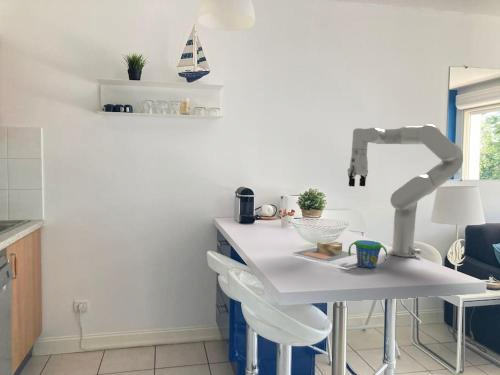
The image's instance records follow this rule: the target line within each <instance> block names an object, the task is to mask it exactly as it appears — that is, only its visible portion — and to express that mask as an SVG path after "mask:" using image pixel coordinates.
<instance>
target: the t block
mask: <svg viewBox="0 0 500 375" xmlns="http://www.w3.org/2000/svg"><path fill="white" fill-rule="evenodd" d="M316 248H317V251H319V252H324V253H329V254H333V255H340V254H341V252H342V251H343V242H339V241H332V242H331V241H330V242H325V241H319V242H317V243H316Z"/></svg>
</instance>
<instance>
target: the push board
mask: <svg viewBox="0 0 500 375" xmlns="http://www.w3.org/2000/svg"><path fill="white" fill-rule="evenodd" d="M295 254H296V256H298V257H299V256H300V255H301V256H300V257H302V258H303V257H309V258H312V259H313V258H314V259H316V260H317V261H321V260H323V261H321V262H324V261H326V262H332V261H336V260H340V259H344V258H347V257H351V256H355V255H356V256H357V253H354V252H350V254H351V256H349V253H348V251H344V250H342V252H341V254H340V255H333V254H329V253H324V252H319V251H317V247H314V248H310V249H305V250H304V249H303V250H300V251H295V252H293V254H292V255H293V256H294V255H295Z"/></svg>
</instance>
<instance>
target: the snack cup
mask: <svg viewBox="0 0 500 375" xmlns="http://www.w3.org/2000/svg"><path fill="white" fill-rule="evenodd" d="M353 245H355V249H356V261H357V265H358V266H359V267H360V268H367V269H374V268H377V264H378V260H379V256H380V252H381V250H382V249H381V248H383V250H384V252H385V258H384V261H385V262H386V261H387V257H388V251H387V248H386V247H385V246H384V245H383V244H382V243H380V242H378V241H374V240H373V241H372V240H365V239H361V240H360V239H359V240H356V241H353V242H352V243H351V244H350V245H349V247H348V251H347V252H348V253H349V256H348V257H351V254H350V253H351V247H352V246H353Z"/></svg>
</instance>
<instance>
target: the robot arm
mask: <svg viewBox="0 0 500 375" xmlns="http://www.w3.org/2000/svg"><path fill="white" fill-rule="evenodd" d="M368 143H371V144H376V145H424V146H426V148H427V149H429V151H431V153H433V154H434V155H435V156H436V157H437V158H438V159H440V160H441V161H440V162H439V163H438V164H436V165H435V166H433V167H432V168H430V170H428V171H427V172H426V173H424V174H419V175H416V176H415V177H413V178H411V179H410V180H408V181H407V182H405V183H404V184H403V185H401V186H400V187H399V188H397V189H396V190H395V191H394V192H393V193H392V194H391V197H390V204H391V206H392V207H393V208H394V217H393V218H394V219H393V231H392V233H393V234H392V248H391V249H389V250H388V253H389V254H391V255H392V256H396V257H403V258H414V257H417V254H418V255H422V253H423V250H422V249H419V248H417V246H416V245H415V244H414V242H415V230H416V218H417V217H416V215H417V209H418V208H417V207H418V202H419V201H420V200H421V199H423V198H424V197H426V196H429V195H431V194H432V193H433V192H434V191H436V190H437V189H439V187H441V186H442V185H444V184H445V183H446V182H448V180H449V181H450V180H451V178H453V177H454V176H455V175H456V174H457V173H458V172H459V171H460V170H461V168H462V166H463V162H464V154H463V151H462V149H461V148H462V147H460V146H459V145H458V144H457V143H455V142H453V141H452V140H450V139H449V137H447V136H446V135H445V134H443V132H442V131H441V130H440V128H439V127H438V126H435V125H433V124H424V125H417V126H414V125H413V126H412V125H409V126H408V125H406V126H402V127H400V128H395V129H382V128H377V127H368V128H361V127H360V128H359V127H358V128H354V129H353V130H352V144H351V145H352V146H351V155H350V156H351V157H350V162H349V163H350V164H349V168H347V176H348V186H349V187H353V188H354V187H355V186H356V176H359V177H360V178H359V184H358V185H359V187H366V181H367V176H368V174H369V173H368V172H369V169H368V168H369V167H368Z"/></svg>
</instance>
